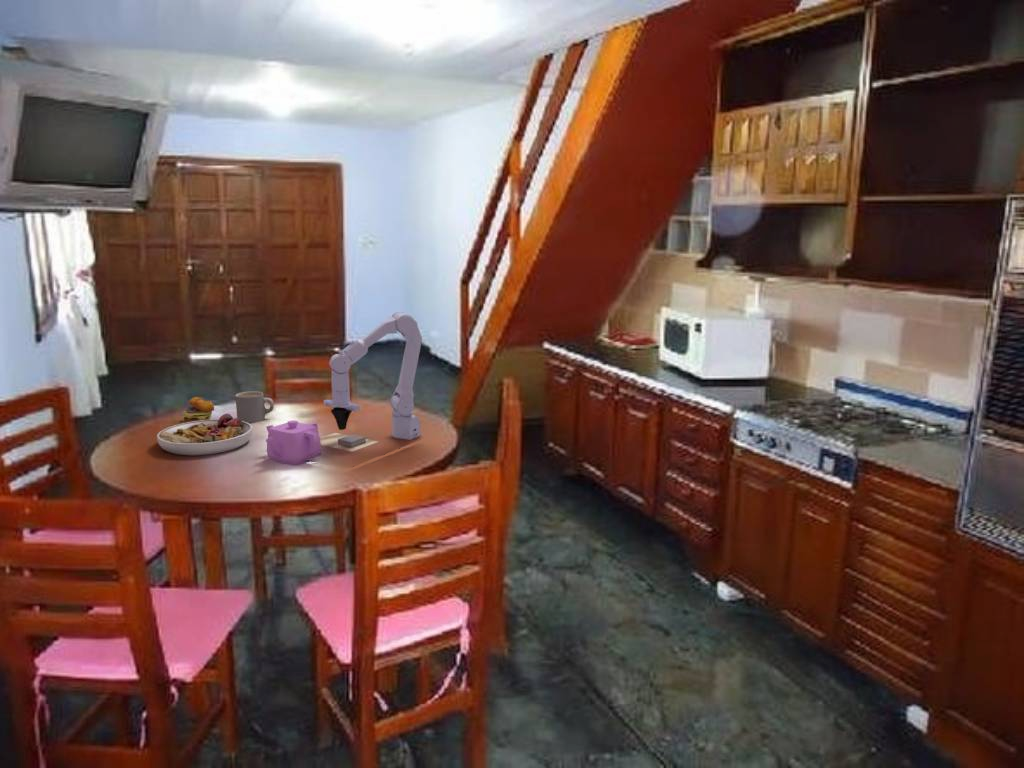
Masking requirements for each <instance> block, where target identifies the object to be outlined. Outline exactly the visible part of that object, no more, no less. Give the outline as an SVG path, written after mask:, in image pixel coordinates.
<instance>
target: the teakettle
mask: <svg viewBox="0 0 1024 768" xmlns="http://www.w3.org/2000/svg"><path fill="white" fill-rule="evenodd" d="M265 427H266V431H267V433H268V434H267V439H265V441H266V455H267V457H268V460H270V461H272V462H275V463H279V464H282V465H287V466H289V465H290V466H300V465H303V464H307V463H310V462H311V461H312V460H311V458H314V457H317V456H319V455H321V454H322V445H321V442H320V438H321V437H320V434H319V427H318V423H317V422H313V421H312V422H308V423H305V422H299V421H298V420H288V421H286V422H285V423H280V424H277V425H275V426H274V425H273V424H272V425H266V426H265Z"/></svg>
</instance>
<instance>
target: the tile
mask: <svg viewBox="0 0 1024 768" xmlns="http://www.w3.org/2000/svg"><path fill="white" fill-rule="evenodd" d="M366 439H367V437H366V436H363V435H358V434H354V433H352V434H350V435H349V436H346V437H343V438H340V439H338V444H339V445H343V446H347V447H354V446H357V445H359V444H362V443H365V442H366Z"/></svg>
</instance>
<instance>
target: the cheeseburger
mask: <svg viewBox="0 0 1024 768" xmlns="http://www.w3.org/2000/svg"><path fill="white" fill-rule="evenodd" d="M188 404H189V405H191V406H188V408H186V409H185V410H184V411H183V414H182V417H181V421H182V423H187V422H192V421H200V420H211V417H212V413H213V411H215V405H214V403H213V402H212V401H210V400H205V399H203V398H202V397H199V396H195V397H192V398H191V399H190V400H189V401H188Z"/></svg>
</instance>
